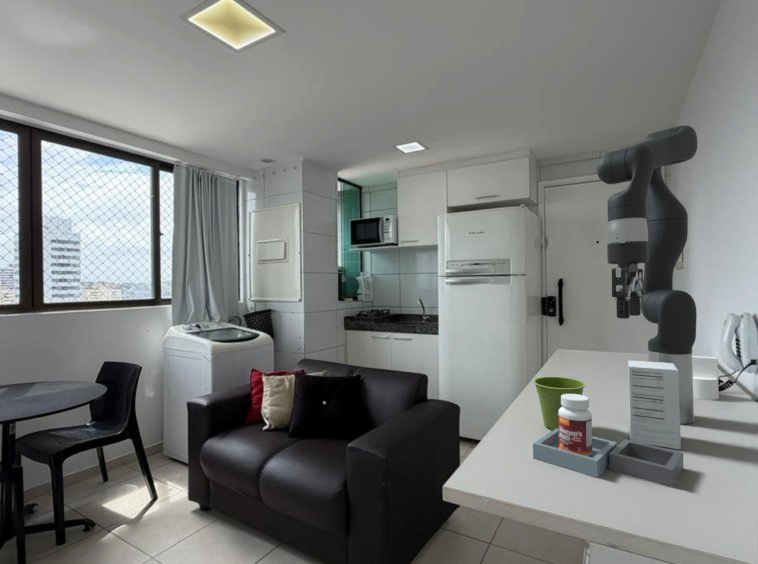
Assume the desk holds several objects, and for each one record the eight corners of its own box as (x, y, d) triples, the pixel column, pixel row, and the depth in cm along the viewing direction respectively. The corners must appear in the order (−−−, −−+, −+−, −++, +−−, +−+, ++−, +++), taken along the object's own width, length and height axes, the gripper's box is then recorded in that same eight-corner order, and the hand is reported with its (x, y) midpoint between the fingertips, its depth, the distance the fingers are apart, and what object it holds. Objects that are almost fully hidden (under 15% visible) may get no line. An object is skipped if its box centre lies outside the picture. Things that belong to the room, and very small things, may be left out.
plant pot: (527, 419, 104) (526, 376, 104) (573, 419, 104) (572, 376, 104) (544, 437, 92) (543, 388, 92) (596, 436, 92) (595, 387, 92)
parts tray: (557, 441, 90) (556, 427, 90) (617, 457, 81) (616, 442, 81) (533, 458, 81) (532, 443, 81) (597, 477, 73) (596, 461, 73)
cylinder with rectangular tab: (716, 394, 124) (714, 355, 124) (721, 401, 116) (720, 360, 116) (679, 390, 129) (678, 353, 129) (682, 397, 121) (681, 358, 121)
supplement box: (681, 450, 83) (679, 370, 84) (629, 442, 88) (628, 366, 88) (676, 435, 92) (674, 362, 92) (629, 428, 96) (627, 359, 97)
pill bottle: (555, 453, 81) (553, 397, 81) (564, 443, 86) (562, 391, 86) (588, 461, 77) (587, 403, 77) (595, 451, 82) (594, 396, 82)
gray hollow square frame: (624, 453, 83) (624, 439, 83) (683, 468, 76) (683, 452, 76) (609, 469, 76) (609, 453, 76) (672, 487, 69) (672, 470, 69)
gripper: (617, 244, 93) (619, 314, 93) (596, 241, 83) (598, 318, 83) (655, 241, 88) (657, 315, 88) (638, 237, 78) (640, 320, 78)
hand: (629, 316), depth 85 cm, fingers open, 8 cm apart
